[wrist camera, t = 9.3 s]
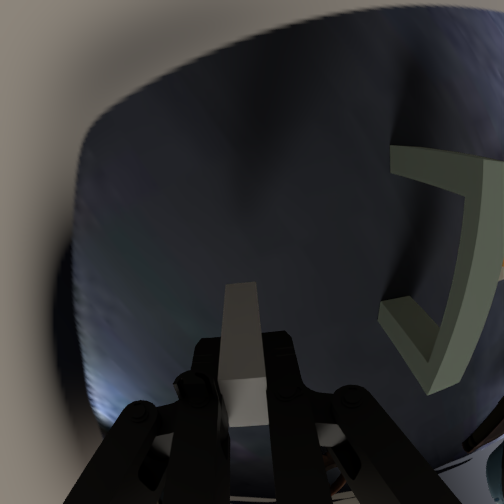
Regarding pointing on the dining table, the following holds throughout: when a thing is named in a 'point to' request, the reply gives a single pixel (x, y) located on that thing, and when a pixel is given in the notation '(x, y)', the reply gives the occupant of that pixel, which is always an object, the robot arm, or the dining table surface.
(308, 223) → the dining table surface
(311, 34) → the dining table surface
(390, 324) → the bridge
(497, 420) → the diary
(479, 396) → the dining table surface
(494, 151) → the dining table surface
